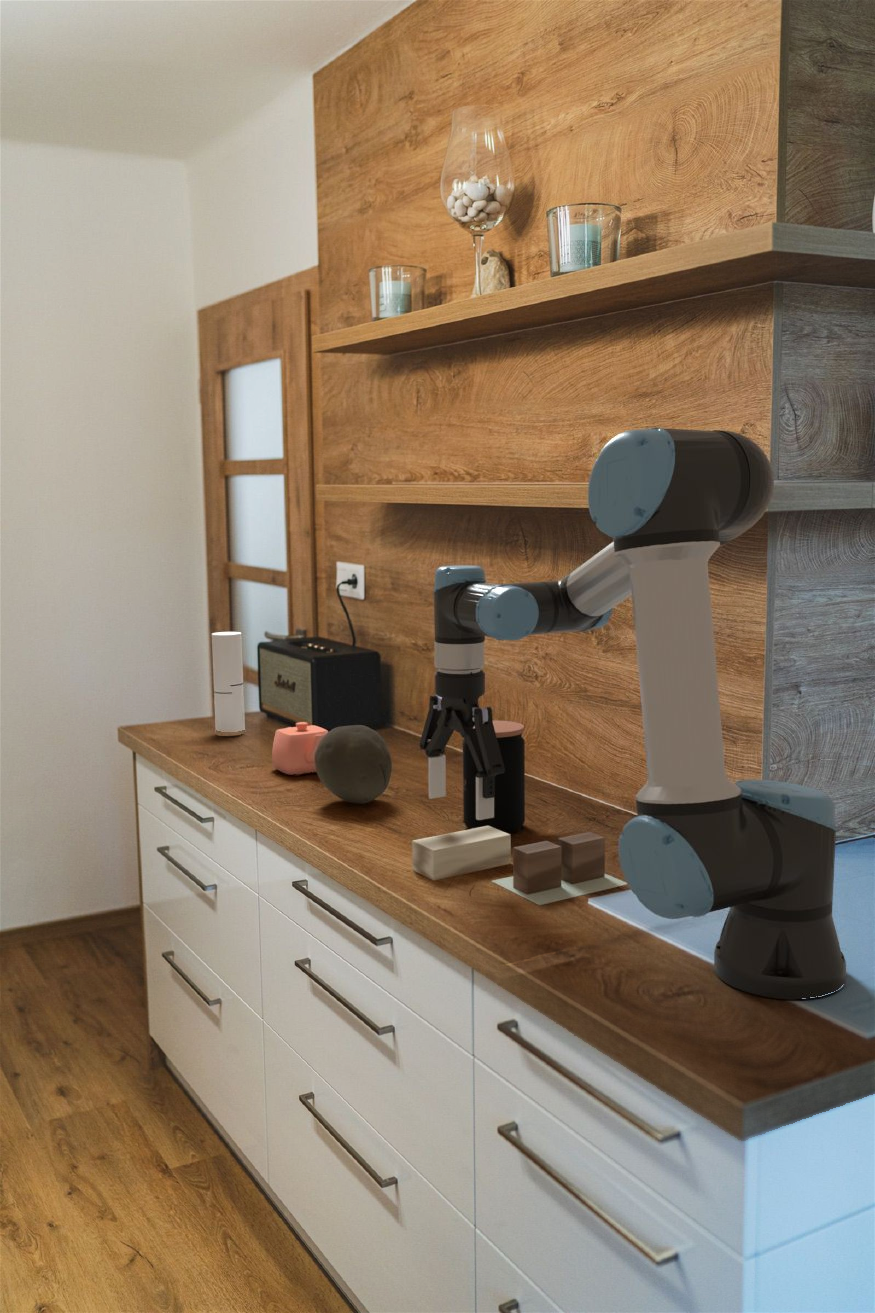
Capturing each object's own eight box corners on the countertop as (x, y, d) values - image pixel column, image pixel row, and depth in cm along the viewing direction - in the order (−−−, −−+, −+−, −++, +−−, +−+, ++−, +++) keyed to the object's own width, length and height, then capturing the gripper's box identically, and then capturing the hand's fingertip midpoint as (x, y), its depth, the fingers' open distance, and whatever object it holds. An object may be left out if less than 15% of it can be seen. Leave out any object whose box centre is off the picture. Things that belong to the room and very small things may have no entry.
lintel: (510, 872, 177) (510, 834, 176) (433, 889, 169) (433, 850, 169) (488, 862, 182) (488, 825, 181) (412, 878, 174) (412, 840, 174)
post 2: (604, 877, 170) (604, 837, 169) (572, 884, 167) (572, 844, 166) (589, 870, 173) (590, 832, 172) (557, 877, 170) (557, 838, 169)
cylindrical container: (249, 734, 282) (246, 633, 278) (222, 738, 278) (218, 635, 275) (238, 730, 288) (234, 631, 284) (211, 733, 284) (207, 633, 281)
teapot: (312, 760, 254) (310, 713, 252) (347, 776, 238) (346, 727, 237) (263, 766, 248) (261, 719, 247) (296, 784, 233) (295, 733, 231)
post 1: (561, 887, 166) (561, 846, 165) (527, 894, 162) (527, 853, 162) (546, 880, 169) (546, 840, 168) (513, 887, 165) (513, 847, 165)
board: (628, 891, 167) (628, 883, 167) (539, 913, 159) (539, 905, 158) (577, 869, 177) (577, 862, 177) (491, 888, 169) (491, 880, 169)
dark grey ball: (379, 791, 226) (377, 716, 224) (401, 808, 213) (400, 729, 211) (309, 798, 221) (306, 721, 219) (327, 816, 208) (325, 735, 206)
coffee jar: (488, 815, 207) (487, 718, 205) (536, 825, 201) (536, 724, 198) (451, 829, 199) (449, 727, 197) (500, 840, 193) (500, 735, 190)
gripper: (529, 678, 163) (528, 823, 166) (438, 656, 184) (438, 785, 187) (484, 683, 159) (484, 832, 162) (397, 660, 180) (398, 792, 183)
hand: (460, 807), depth 174 cm, fingers open, 13 cm apart
